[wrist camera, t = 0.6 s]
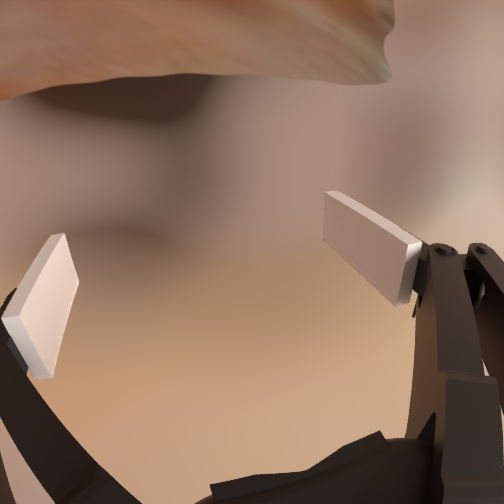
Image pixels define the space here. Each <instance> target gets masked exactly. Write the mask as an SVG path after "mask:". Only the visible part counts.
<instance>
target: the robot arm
mask: <svg viewBox="0 0 504 504" xmlns="http://www.w3.org/2000/svg"><path fill="white" fill-rule="evenodd" d="M324 196H325V197H324V224H323V241H324V242H325V243H326V244H328V245H329V246H330V247H331V248H332V249H333V250H334V251H335V252H337V253H338V254H339V255H340V256H341V257H342V258H343V259H344V260H345V261H346V262H348V263H349V264H350V265H351V266H352V267H353V268H354V269H355V270H356V271H358V272H359V273H360V274H361V275H362V276H363V277H364V278H365V279H366V280H367V281H368V282H369V283H370V284H371V285H373V286H374V287H375V288H376V289H377V290H378V291H379V292H380V293H381V294H382V295H383V296H384V297H385V298H386V299H387V300H388V301H390V302H391V303H392V304H393V305H394V306H395V307H397V306H400V305H403V304H406V303H409V301H410V297H411V293H412V289H413V290H414V291H415V292H416V293H417V294H418V297H417V301H416V304H415V308H414V311H413V315H412V317H415V315H416V331H415V353H414V368H413V381H412V391H411V401H410V409H409V417H408V424H407V430H406V434H405V438H393V439H385V438H384V436H383V435H382V433H381V432H380V431H377V432H375V433H373V434H370V435H368V436H366V437H364V438H361V439H359V440H357V441H354V442H352V443H350V444H347V445H344V446H343V447H341V448H340V449H338V450H337V451H335V452H334V453H332V454H331V455H329V456H328V457H327V458H325V459H323V460H322V461H320V462H319V463H317V464H316V465H314V466H313V467H311V468H309V469H308V470H305V471H301V472H290V473H277V474H259V475H251V476H248V477H243V478H239V479H235V480H230V481H225V482H221V483H216V484H210V488H211V492H212V495H211V496H208V497H206V498H204V499H202V500H200V501H199V502H197V503H195V504H504V459H503V457H504V456H503V431H502V418H501V408H502V411H503V414H504V262H503V260H502V259H501V258H500V257H499V256H498V255H497V254H496V253H495V251H494V250H493V249H491V248H490V247H488V246H487V245H485V244H483V243H472V244H470V245H469V248H468V252H467V254H458V252H457V251H456V250H455V249H454V248H453V247H451V246H448V245H446V244H439V243H435V244H431V245H428V244H426V243H425V242H424V241H422V240H420V239H419V238H417V237H416V236H413V234H411V233H409V232H407V231H406V230H405V229H403V228H401V227H399V226H397V225H395V224H394V223H392V222H390V221H388V220H387V219H385V218H384V217H382V216H380V215H379V214H377V213H375V212H374V211H372V210H370V209H369V208H367V207H365V206H363V205H362V204H360V203H358V202H356V201H355V200H353V199H351V198H349V197H348V196H345V195H344V194H342V193H340V192H339V191H330V192H325V195H324ZM78 285H79V280H78V277H77V274H76V271H75V268H74V264H73V261H72V258H71V255H70V251H69V248H68V244H67V241H66V237H65V234H64V233H60V234H55V235H51V236H50V237H49V239H48V240H47V242H46V243H45V245H44V246H43V248H42V249H41V251H40V252H39V254H38V255H37V257H36V258H35V260H34V262H33V263H32V265H31V266H30V268H29V270H28V271H27V273H26V275H25V276H24V278H23V280H22V281H21V283H20V285H19V286H18V288H15V289H14V290H13V291H12V292H11V293H10V294H9V295H8V296H7V298H6V300H5V301H4V304H3V305H2V306H1V308H0V417H1V419H2V421H3V423H4V425H5V427H6V429H7V431H8V432H9V434H10V436H11V438H12V440H13V441H14V443H15V445H16V446H17V448H18V450H19V451H20V453H21V455H22V456H23V458H24V459H25V461H26V463H27V464H28V465H29V467H30V469H31V470H32V472H33V473H34V475H35V476H36V478H37V479H38V480H39V482H40V483H41V484H42V486H43V487H44V489H45V490H46V492H47V493H48V494H49V495H50V497H51V498H52V500H53V501H54V502H55V504H142V503H141V502H140V501H138V500H137V499H136V498H135V497H134V496H133V495H131V494H130V493H129V492H128V491H127V490H126V489H125V488H123V486H121V485H120V484H119V483H118V482H117V481H116V480H115V479H114V478H113V477H112V476H111V475H110V474H109V473H108V472H107V471H106V470H105V469H103V468H102V467H101V466H100V465H99V464H98V463H97V462H96V461H95V460H94V459H93V458H92V457H91V456H90V455H89V454H88V453H87V451H86V450H85V449H84V448H83V447H82V446H81V445H80V444H79V443H78V442H77V441H76V439H75V438H74V437H73V436H72V435H71V433H70V432H69V431H68V430H67V429H66V428H65V426H64V425H63V424H62V423H61V421H59V419H58V418H57V416H56V415H55V414H54V413H53V412H52V410H51V409H50V408H49V406H48V405H47V404H46V402H45V401H44V400H43V398H42V397H41V395H40V394H39V393H38V391H37V390H36V388H35V387H34V386H33V384H32V383H31V381H30V380H29V378H28V377H27V375H26V374H27V371H28V368H29V370H30V372H31V373H32V375H33V376H34V378H35V379H36V380H38V379H50V378H53V375H54V370H55V366H56V361H57V357H58V353H59V349H60V346H61V342H62V338H63V334H64V331H65V327H66V323H67V320H68V316H69V313H70V310H71V306H72V303H73V300H74V297H75V294H76V291H77V288H78ZM483 293H484V295H483ZM482 359H483V360H482ZM483 362H484V364H485V366H486V369H487V371H488V373H489V376H485V374H484V367H483ZM500 406H501V407H500ZM0 504H16V503H15V500H14V497H13V494H12V491H11V488H10V485H9V482H8V478H7V476H6V472H5V468H4V465H3V461H2V457H1V453H0Z"/></svg>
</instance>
